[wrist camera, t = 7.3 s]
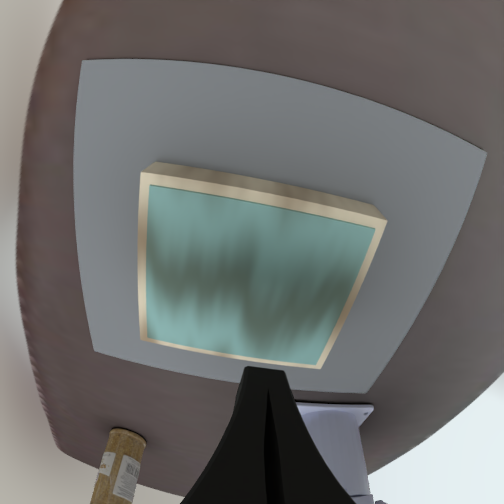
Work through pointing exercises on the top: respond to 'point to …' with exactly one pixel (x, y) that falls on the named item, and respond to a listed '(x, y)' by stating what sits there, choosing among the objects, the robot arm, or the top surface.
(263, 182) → the teal framed tile
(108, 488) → the sprinkles bottle
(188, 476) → the top surface
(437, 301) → the top surface
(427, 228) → the slate mat
